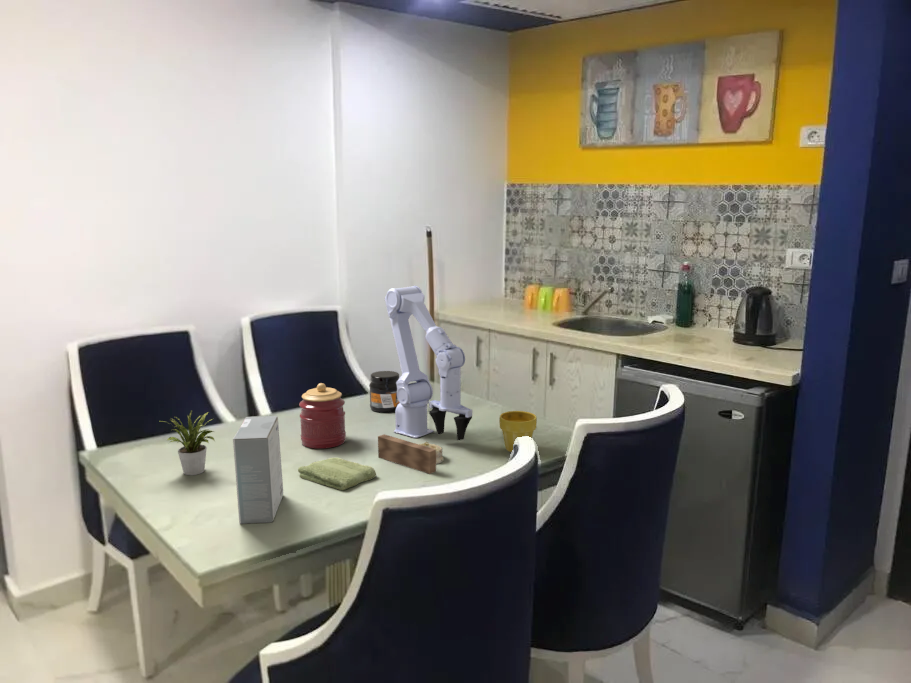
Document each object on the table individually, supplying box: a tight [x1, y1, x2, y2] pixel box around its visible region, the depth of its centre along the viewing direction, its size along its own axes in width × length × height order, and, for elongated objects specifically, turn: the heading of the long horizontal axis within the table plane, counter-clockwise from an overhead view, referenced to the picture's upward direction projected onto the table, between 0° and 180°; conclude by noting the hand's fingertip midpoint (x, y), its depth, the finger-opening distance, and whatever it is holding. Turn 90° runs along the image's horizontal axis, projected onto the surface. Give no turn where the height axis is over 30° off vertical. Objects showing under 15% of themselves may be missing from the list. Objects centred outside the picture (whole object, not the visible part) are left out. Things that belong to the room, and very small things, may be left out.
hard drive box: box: [232, 415, 284, 525], centre depth 166 cm, size 16×8×20 cm, turn 5°
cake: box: [418, 441, 444, 465], centre depth 199 cm, size 10×10×5 cm
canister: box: [298, 382, 347, 450], centre depth 212 cm, size 13×13×18 cm
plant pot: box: [498, 410, 538, 453], centre depth 206 cm, size 10×10×10 cm
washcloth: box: [297, 457, 377, 491], centre depth 187 cm, size 13×18×3 cm
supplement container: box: [368, 370, 400, 413], centre depth 245 cm, size 10×10×12 cm
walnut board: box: [377, 433, 437, 475], centre depth 195 cm, size 19×2×6 cm, turn 50°
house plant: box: [160, 410, 216, 476], centre depth 188 cm, size 14×14×16 cm
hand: (450, 436), depth 209 cm, fingers open, 7 cm apart
